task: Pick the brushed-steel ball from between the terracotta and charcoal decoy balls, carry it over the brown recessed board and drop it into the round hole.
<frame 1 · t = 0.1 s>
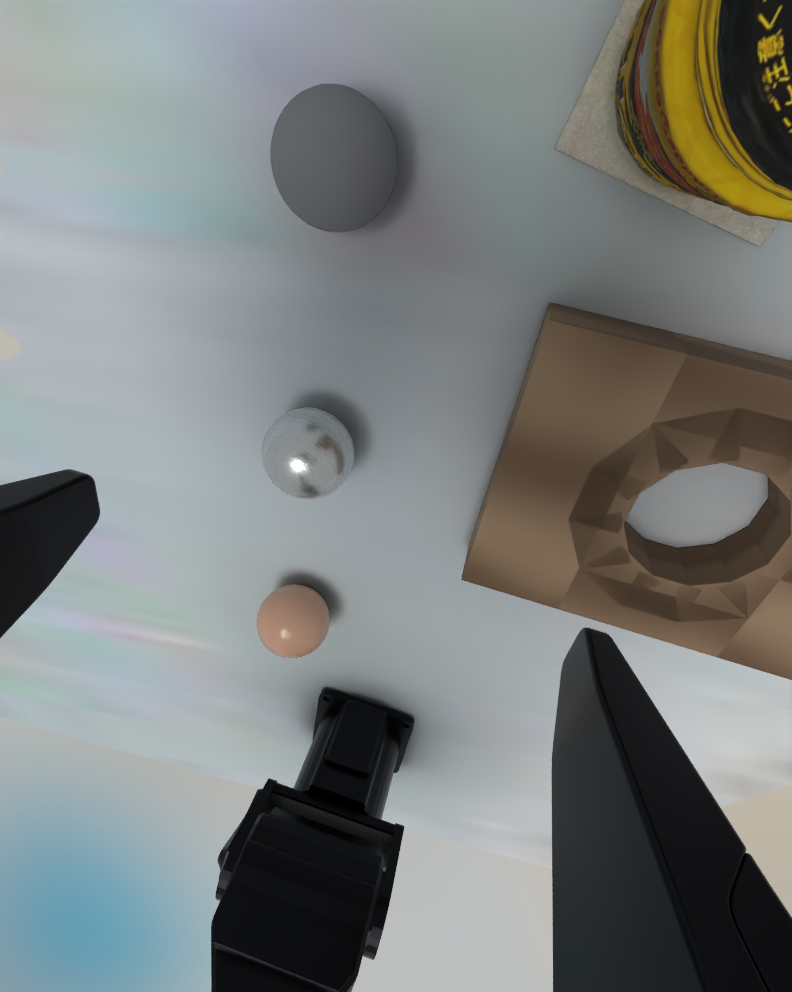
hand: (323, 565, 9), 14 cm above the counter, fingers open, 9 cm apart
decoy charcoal: (334, 162, 17), point 2 cm above the counter
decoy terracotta: (293, 620, 30), point 2 cm above the counter
brown recessed board: (690, 494, 22), on the counter
condiment: (751, 36, 15), on the counter
steel ball: (308, 453, 23), point 2 cm above the counter
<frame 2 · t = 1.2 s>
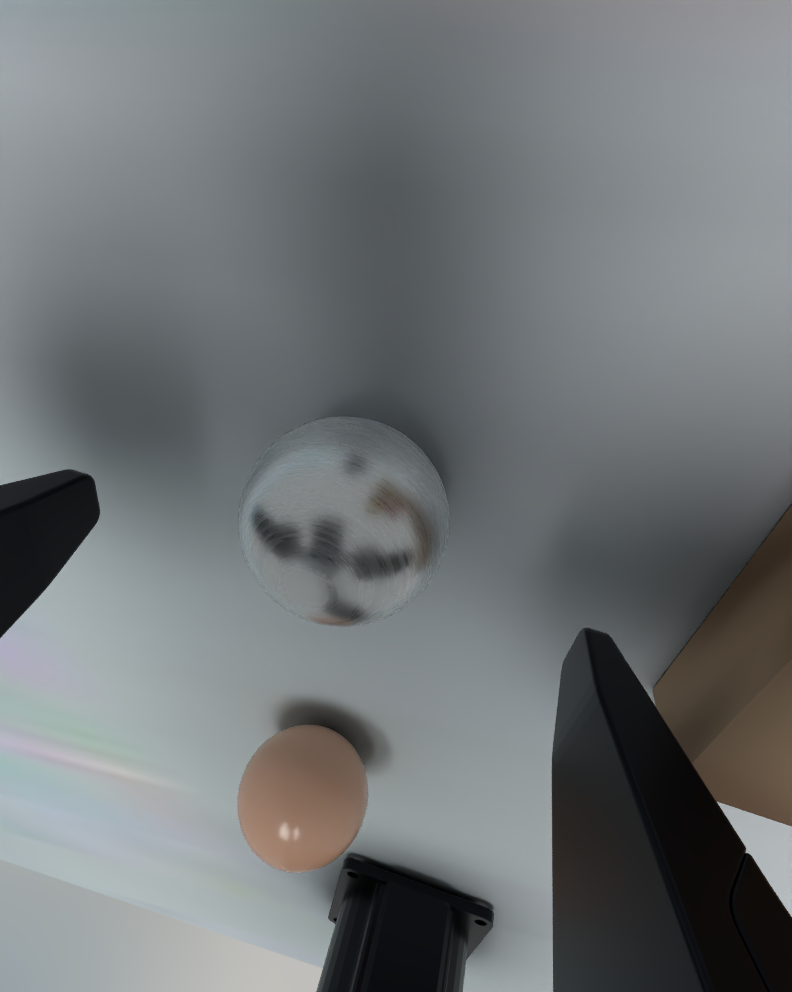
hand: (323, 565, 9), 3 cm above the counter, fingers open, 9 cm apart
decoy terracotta: (304, 794, 17), point 2 cm above the counter
steel ball: (345, 520, 10), point 2 cm above the counter
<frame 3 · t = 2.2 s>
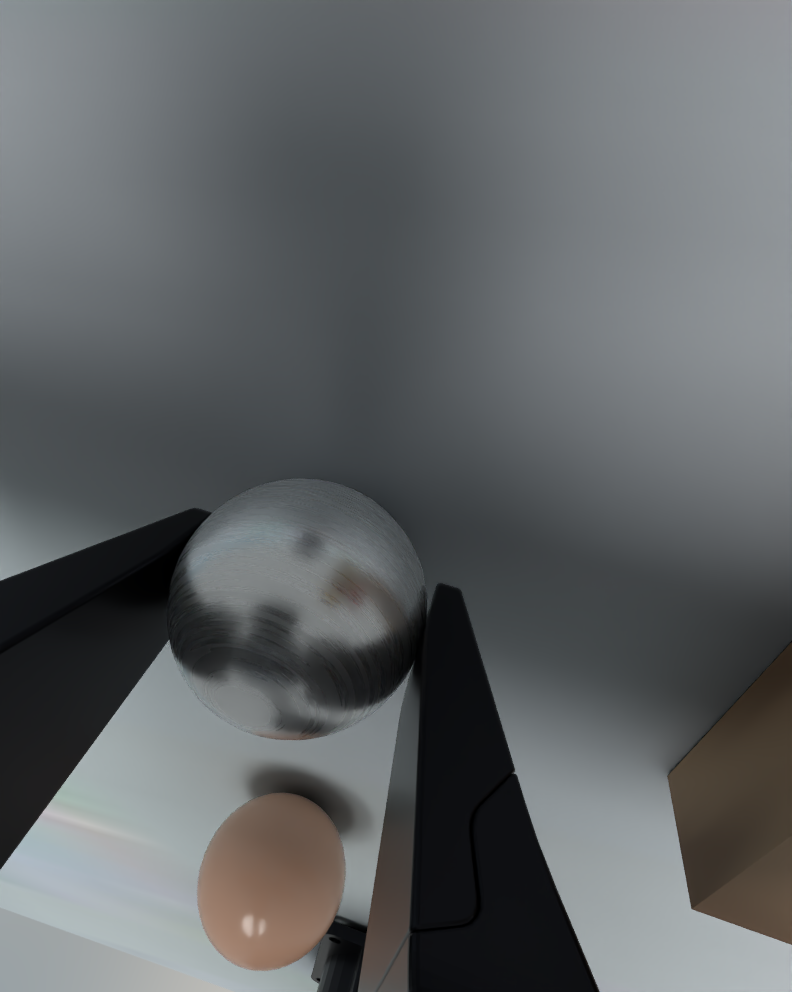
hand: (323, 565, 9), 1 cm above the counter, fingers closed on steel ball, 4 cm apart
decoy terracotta: (273, 874, 15), point 2 cm above the counter
steel ball: (302, 603, 9), point 2 cm above the counter, touching gripper
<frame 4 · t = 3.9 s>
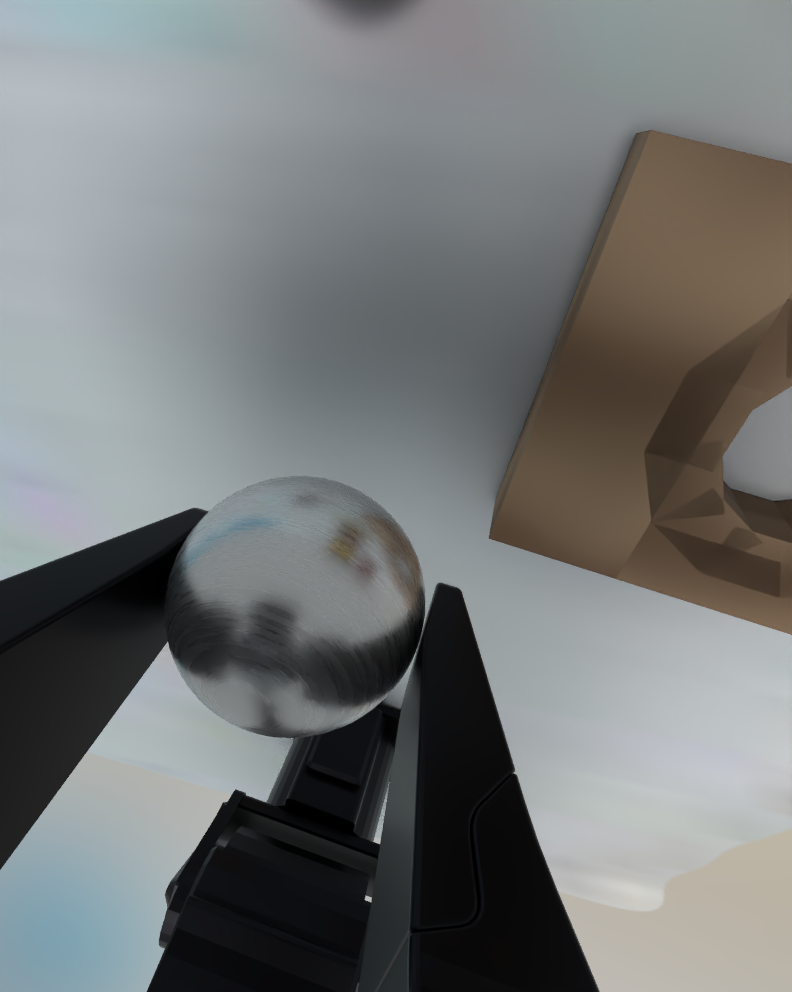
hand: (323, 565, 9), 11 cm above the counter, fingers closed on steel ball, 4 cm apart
steel ball: (300, 600, 9), point 12 cm above the counter, touching gripper
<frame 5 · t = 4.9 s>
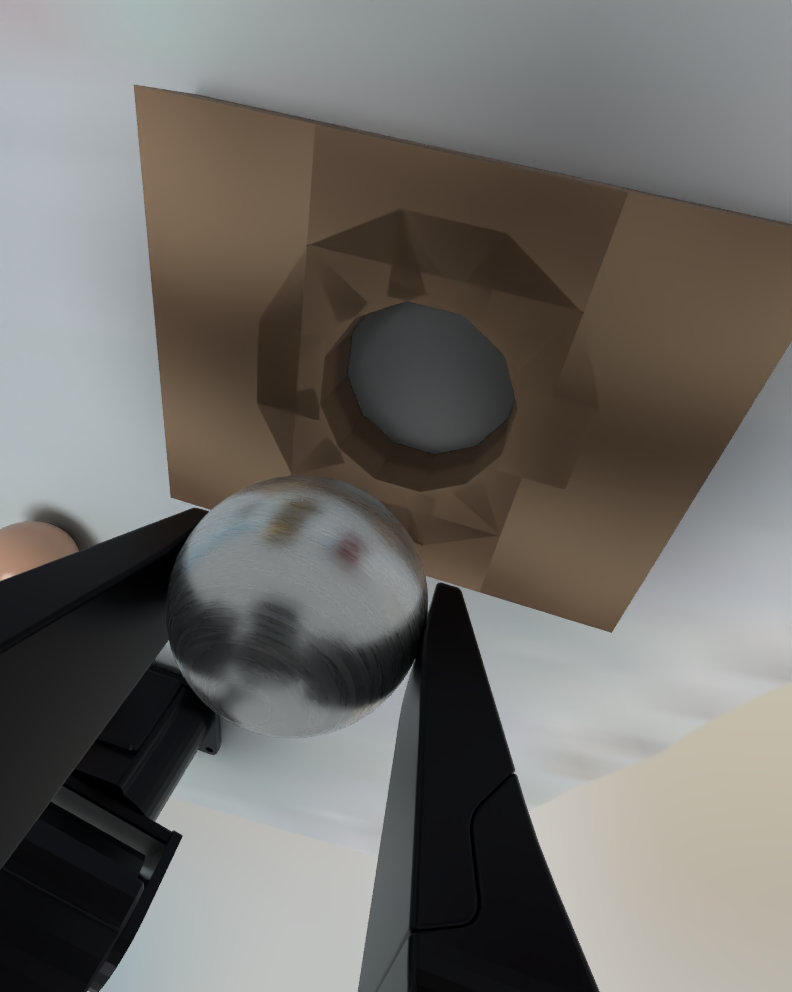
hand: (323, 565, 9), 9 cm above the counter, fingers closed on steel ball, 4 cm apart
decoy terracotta: (30, 564, 25), point 2 cm above the counter
brown recessed board: (431, 375, 17), on the counter
steel ball: (302, 600, 8), point 10 cm above the counter, touching gripper
when the fingers open (5 cm above the counter, at t = 5.8 s): steel ball drops 4 cm, point 2 cm above the counter.
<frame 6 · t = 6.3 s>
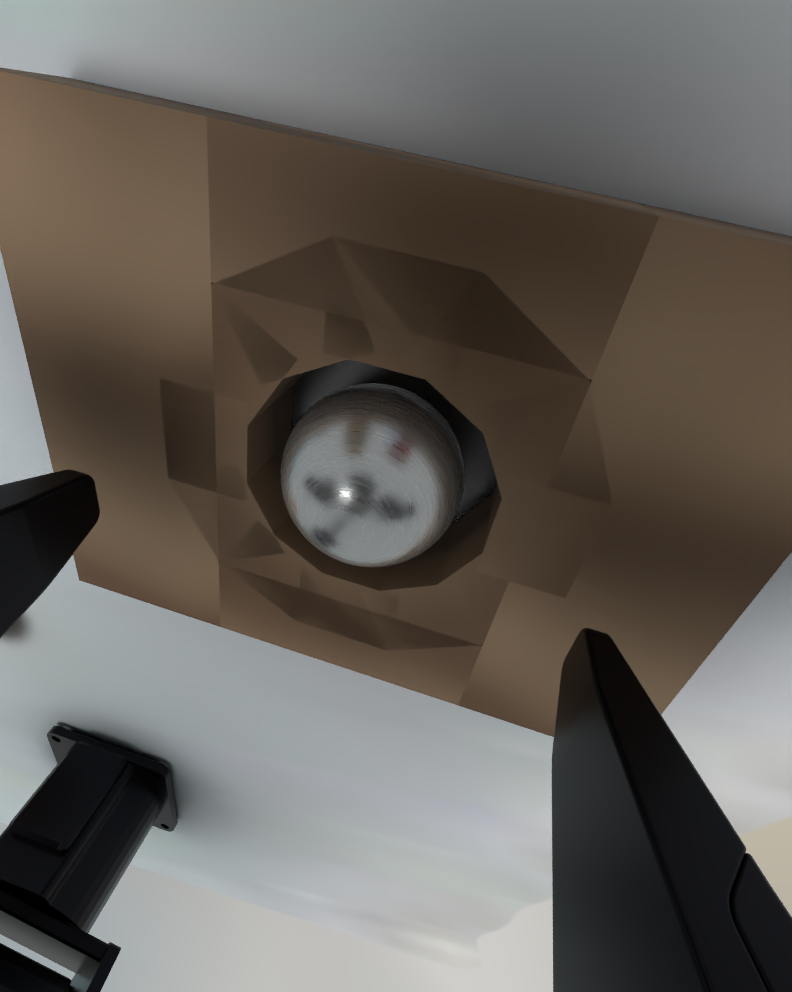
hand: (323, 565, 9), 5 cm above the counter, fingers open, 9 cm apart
brown recessed board: (395, 438, 13), on the counter
steel ball: (373, 475, 12), point 2 cm above the counter
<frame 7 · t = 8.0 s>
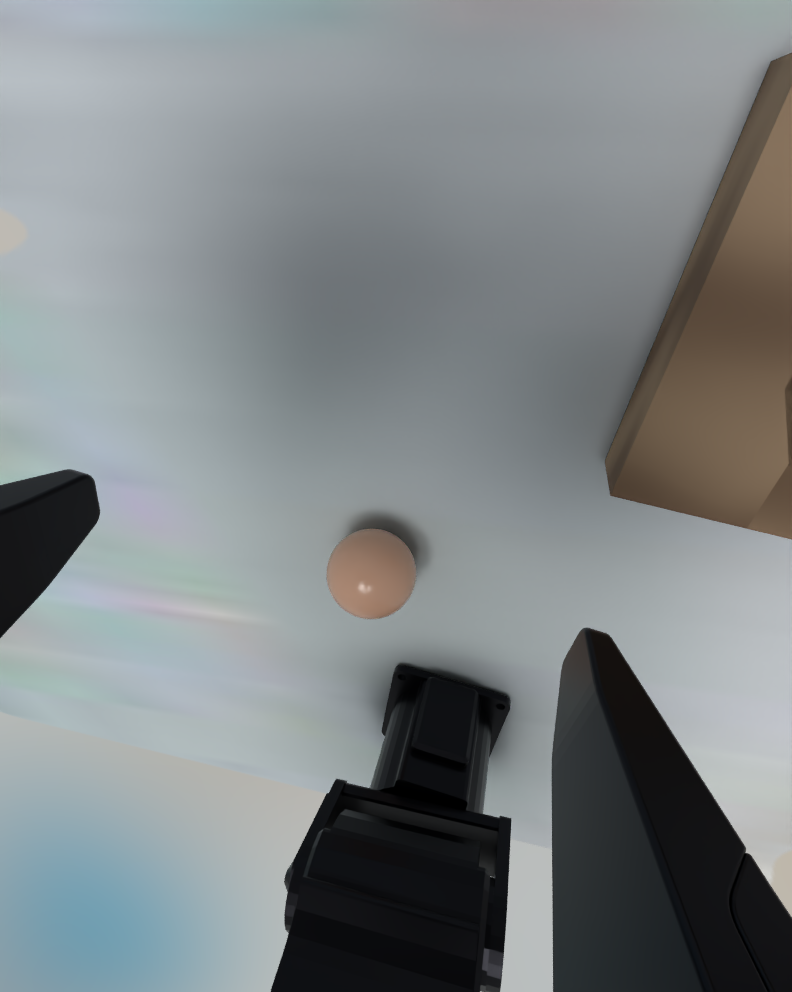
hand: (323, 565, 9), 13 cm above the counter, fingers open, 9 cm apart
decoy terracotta: (371, 573, 24), point 2 cm above the counter
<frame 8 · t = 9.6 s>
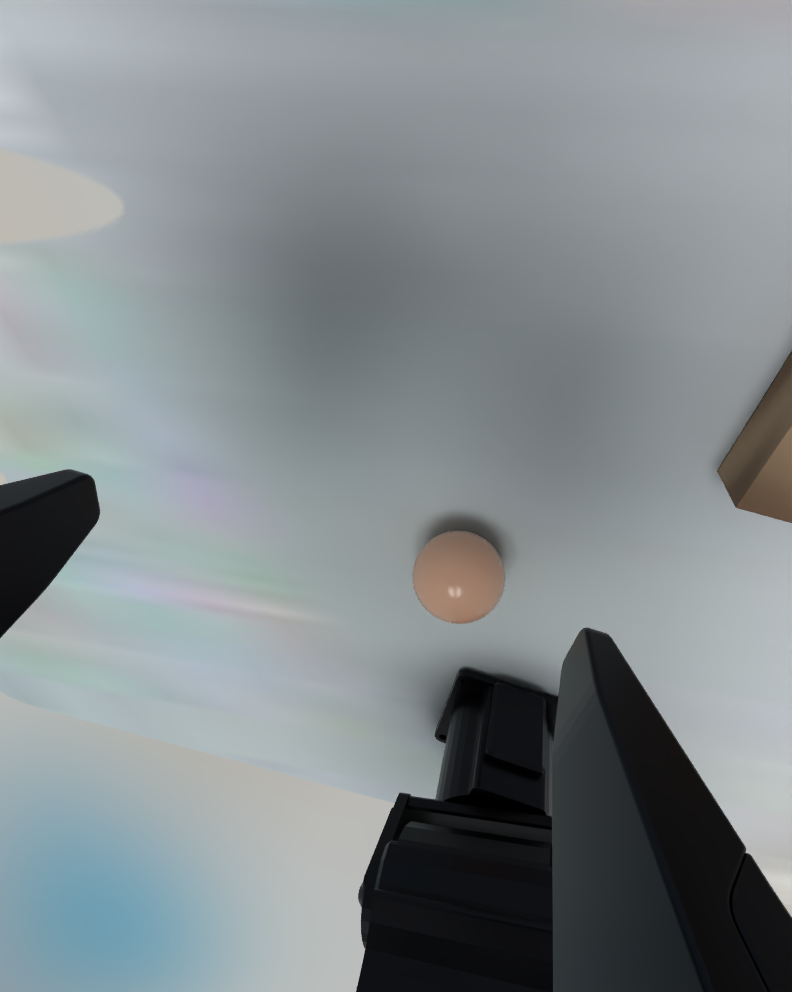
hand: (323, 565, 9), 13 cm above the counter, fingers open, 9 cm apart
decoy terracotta: (458, 576, 23), point 2 cm above the counter
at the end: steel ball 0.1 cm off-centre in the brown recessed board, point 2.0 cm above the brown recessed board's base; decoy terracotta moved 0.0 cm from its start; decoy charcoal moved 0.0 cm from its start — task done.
